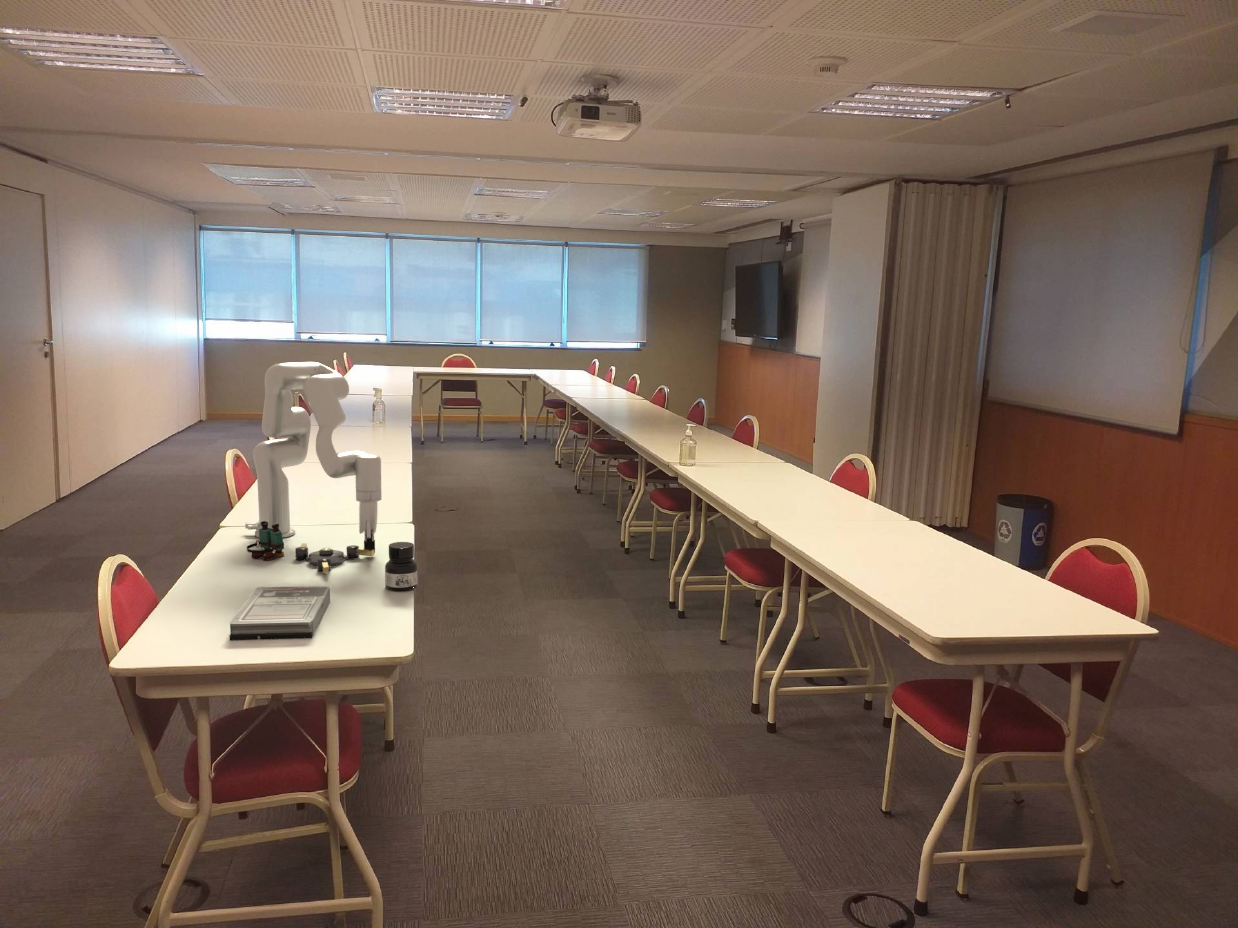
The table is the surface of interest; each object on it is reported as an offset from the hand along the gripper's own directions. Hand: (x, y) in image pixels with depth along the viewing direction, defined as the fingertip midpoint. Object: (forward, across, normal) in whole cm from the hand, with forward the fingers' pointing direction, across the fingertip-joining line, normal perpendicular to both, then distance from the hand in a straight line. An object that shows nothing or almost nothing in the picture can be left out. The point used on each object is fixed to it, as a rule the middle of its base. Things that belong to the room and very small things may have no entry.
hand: (369, 552), depth 276 cm
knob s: (+1, +15, -12) cm, 20 cm away
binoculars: (+2, -3, -30) cm, 30 cm away
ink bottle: (+1, +32, +10) cm, 33 cm away
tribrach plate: (+1, +4, -12) cm, 13 cm away
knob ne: (+1, +2, -3) cm, 3 cm away
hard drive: (+2, +53, -19) cm, 56 cm away
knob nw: (+1, -2, -20) cm, 20 cm away
